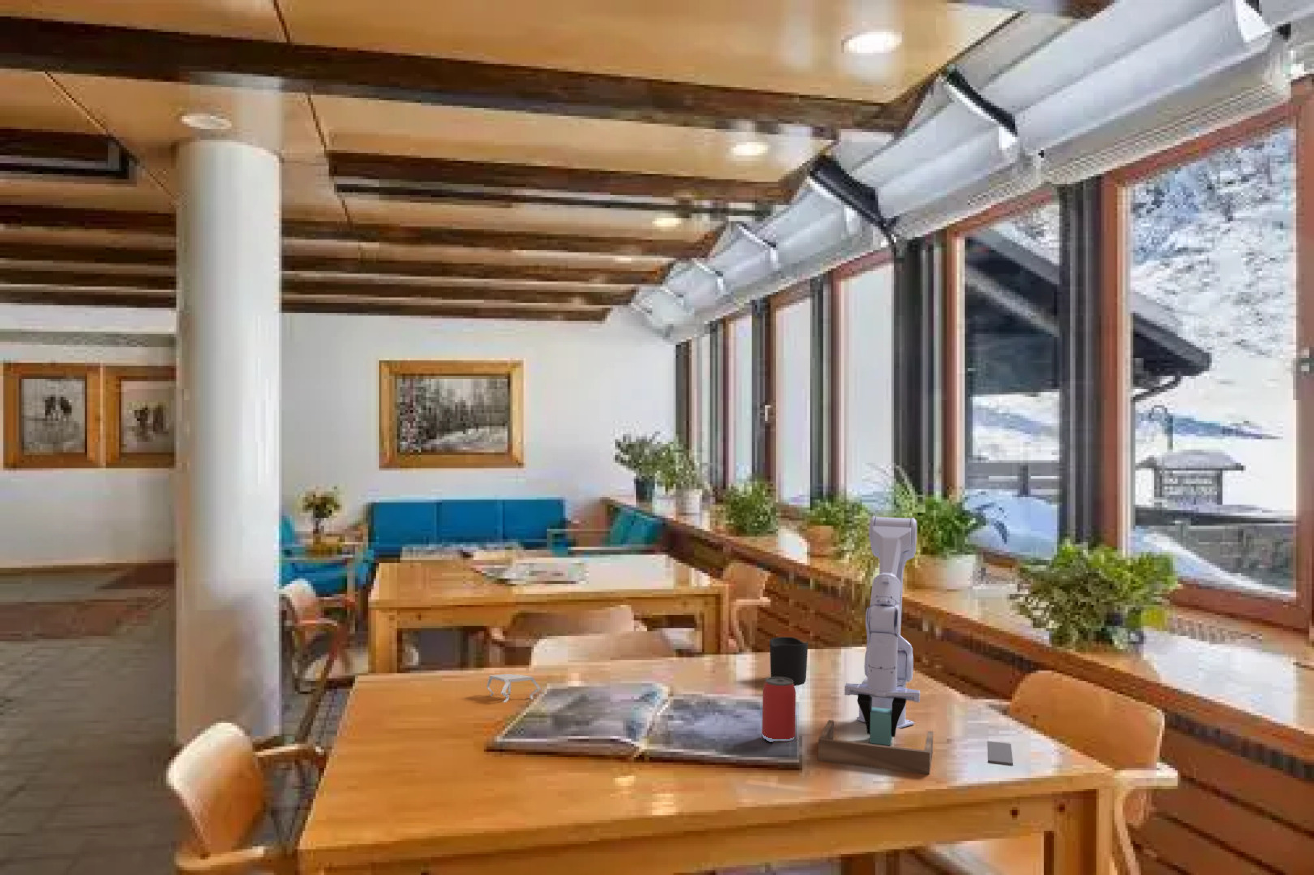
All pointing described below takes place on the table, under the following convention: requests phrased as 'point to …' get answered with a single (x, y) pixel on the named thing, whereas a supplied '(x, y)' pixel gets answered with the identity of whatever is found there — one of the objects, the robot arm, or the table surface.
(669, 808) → the table surface
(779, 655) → the pen holder
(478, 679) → the table surface
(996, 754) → the charcoal mat
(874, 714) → the teal block
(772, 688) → the beer can
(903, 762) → the walnut box
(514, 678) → the grey legged piece
